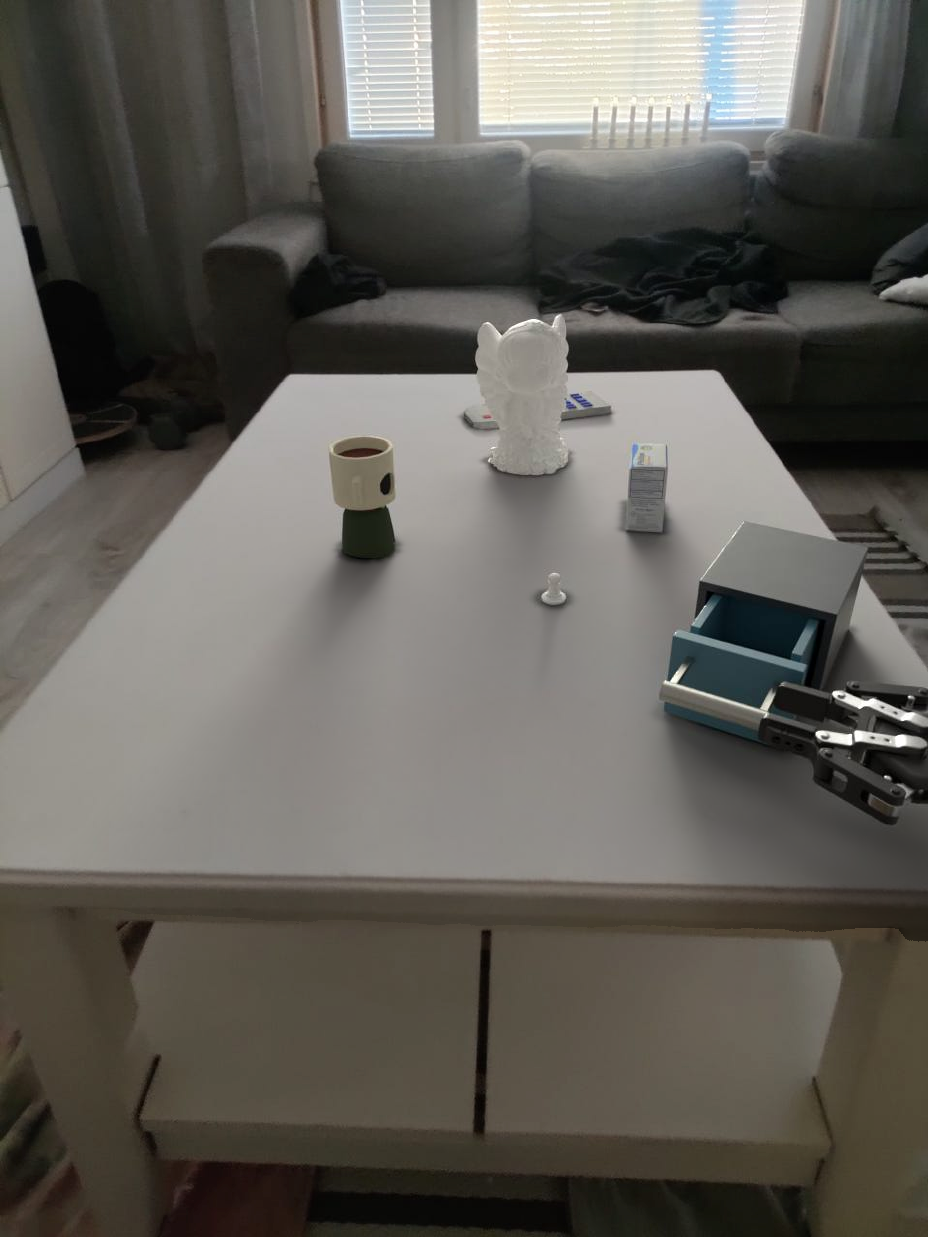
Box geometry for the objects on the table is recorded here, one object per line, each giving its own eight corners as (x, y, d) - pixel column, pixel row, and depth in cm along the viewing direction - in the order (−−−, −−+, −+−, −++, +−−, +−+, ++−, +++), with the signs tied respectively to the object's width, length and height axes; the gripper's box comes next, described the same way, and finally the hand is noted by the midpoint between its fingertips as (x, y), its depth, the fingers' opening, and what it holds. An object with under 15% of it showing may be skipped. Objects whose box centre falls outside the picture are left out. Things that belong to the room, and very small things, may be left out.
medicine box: (662, 536, 106) (669, 468, 101) (624, 534, 106) (629, 466, 102) (661, 508, 112) (668, 443, 108) (625, 506, 113) (631, 441, 108)
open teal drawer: (766, 794, 67) (784, 713, 63) (637, 750, 72) (646, 672, 68) (821, 672, 80) (838, 598, 76) (709, 641, 85) (720, 570, 81)
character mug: (394, 574, 99) (387, 465, 92) (331, 574, 100) (319, 466, 93) (404, 530, 109) (397, 429, 102) (346, 530, 109) (336, 429, 102)
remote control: (610, 417, 142) (611, 404, 140) (475, 433, 136) (475, 419, 135) (590, 402, 148) (591, 389, 147) (461, 417, 143) (461, 403, 142)
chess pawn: (549, 611, 92) (550, 582, 90) (536, 600, 94) (537, 571, 92) (570, 605, 93) (571, 576, 91) (557, 594, 95) (559, 566, 93)
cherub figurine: (479, 480, 121) (476, 331, 111) (476, 446, 132) (474, 307, 121) (574, 477, 121) (581, 328, 111) (564, 444, 132) (570, 305, 121)
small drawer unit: (815, 707, 77) (837, 614, 72) (687, 670, 83) (699, 580, 78) (847, 633, 87) (868, 547, 82) (730, 604, 92) (744, 520, 87)
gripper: (1055, 687, 61) (800, 622, 69) (1046, 815, 51) (748, 722, 59) (1021, 769, 65) (784, 699, 73) (1007, 903, 55) (732, 805, 63)
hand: (769, 710), depth 66 cm, fingers closed on open teal drawer, 3 cm apart
